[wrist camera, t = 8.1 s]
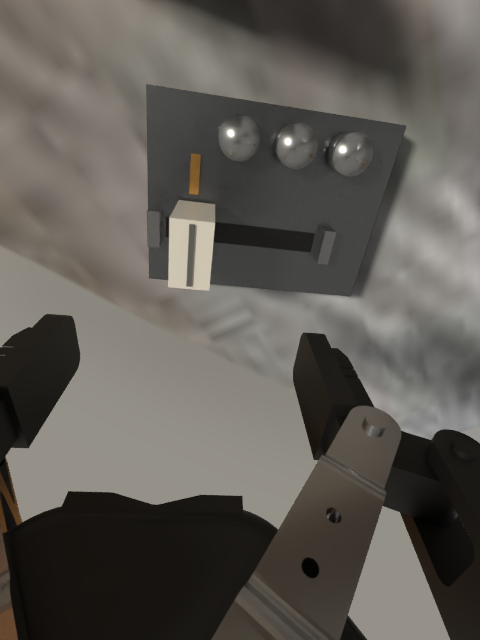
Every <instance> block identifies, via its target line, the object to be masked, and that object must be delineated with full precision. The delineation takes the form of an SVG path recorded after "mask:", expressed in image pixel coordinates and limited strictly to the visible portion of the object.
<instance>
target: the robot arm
mask: <svg viewBox="0 0 480 640" xmlns="http://www.w3.org/2000/svg"><path fill="white" fill-rule="evenodd" d="M79 362H80V350H79V345H78V340H77V334H76V328H75V323H74V319H73V318H72V316H67V315H53V314H46V315H45V316H43V317H42V318H41V319H40V320H39V321H38V322H37V323H36V324H35V325H34V327H33V328H30V327H28V328H26V329H24V330H22V331H21V332H19V333H17V334H15V335H13V336H12V337H11V338H10V339H9V340H8V341H7V342H6V343H5V344H4V345H2V348H0V640H367V639H366V638H365V636H364V635H363V634H362V632H361V631H360V630H359V629H358V627H357V626H356V625H355V624H354V622H353V621H352V620H351V619H350V617H349V616H348V613H349V609H350V606H351V603H352V600H353V597H354V594H355V591H356V588H357V584H358V581H359V578H360V575H361V572H362V569H363V565H364V562H365V559H366V556H367V553H368V550H369V547H370V544H371V540H372V537H373V534H374V531H375V528H376V525H377V522H378V518H379V515H380V512H381V509H382V506H385V507H388V508H390V509H393V510H396V511H399V512H400V513H401V516H402V518H403V521H404V523H405V526H406V529H407V531H408V533H409V536H410V539H411V541H412V544H413V546H414V549H415V551H416V554H417V556H418V559H419V561H420V564H421V567H422V569H423V572H424V574H425V576H426V579H427V582H428V584H429V587H430V589H431V592H432V594H433V597H434V599H435V602H436V604H437V607H438V609H439V612H440V615H441V617H442V619H443V622H444V625H445V627H446V630H447V632H448V635H449V637H450V640H480V444H479V443H478V442H477V441H475V440H474V439H473V438H471V437H469V436H467V435H465V434H463V433H460V432H458V431H454V430H440V431H438V432H437V433H436V434H435V435H434V437H433V438H432V440H429V439H426V438H422V437H419V436H415V435H412V434H409V433H406V432H403V431H401V429H400V427H399V425H398V424H397V422H396V421H395V420H394V419H393V418H392V417H391V416H390V415H388V414H387V413H385V412H384V411H382V410H380V409H377V408H375V407H374V406H373V404H372V402H371V400H370V398H369V396H368V394H367V392H366V391H365V389H364V387H363V385H362V383H361V381H360V379H359V378H358V375H357V374H356V372H355V370H353V366H352V364H351V362H350V360H349V359H348V357H347V356H346V355H344V354H343V353H342V352H341V351H340V350H339V349H337V348H331V346H330V344H329V342H328V340H327V338H326V336H325V335H324V334H317V333H303V334H302V335H301V338H300V343H299V347H298V351H297V355H296V359H295V364H294V369H293V382H294V386H295V390H296V394H297V398H298V401H299V405H300V409H301V412H302V416H303V420H304V424H305V428H306V432H307V435H308V439H309V443H310V446H311V450H312V454H313V458H314V460H319V461H318V462H317V464H316V466H315V468H314V469H313V471H312V473H311V474H310V476H309V478H308V480H307V481H306V483H305V485H304V486H303V488H302V490H301V492H300V493H299V495H298V497H297V498H296V500H295V502H294V504H293V505H292V507H291V509H290V511H289V512H288V514H287V516H286V517H285V519H284V521H283V523H282V524H281V526H280V528H279V529H277V528H276V527H274V526H273V525H272V524H270V523H269V522H268V521H266V520H264V519H263V518H261V517H259V516H257V515H255V514H253V513H250V512H248V511H245V510H243V504H242V503H243V502H242V496H219V495H199V496H194V497H190V498H185V499H181V500H177V501H172V502H168V503H164V504H159V505H152V504H149V503H145V502H142V501H138V500H135V499H132V498H129V497H125V496H122V495H119V494H116V493H108V492H71V491H69V492H68V494H67V496H66V498H65V501H64V503H63V505H62V507H58V508H55V509H51V510H48V511H45V512H43V513H41V514H38V515H36V516H34V517H32V518H30V519H28V520H26V521H24V522H22V519H21V516H20V513H19V509H18V504H17V500H16V496H15V492H14V488H13V483H12V479H11V475H10V471H9V467H8V463H7V460H6V457H5V456H6V454H7V453H8V451H9V450H10V448H12V447H13V448H29V446H30V445H31V443H32V442H33V440H34V438H35V437H36V435H37V434H38V432H39V430H40V428H41V427H42V426H43V424H44V422H45V421H46V419H47V417H48V416H49V414H50V412H51V411H52V409H53V408H54V406H55V405H56V403H57V401H58V399H59V398H60V397H61V395H62V393H63V392H64V390H65V388H66V387H67V385H68V384H69V382H70V381H71V379H72V377H73V376H74V374H75V372H76V371H77V369H78V366H79ZM462 523H463V524H462ZM468 534H469V535H468Z"/></svg>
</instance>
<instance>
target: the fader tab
mask: <svg viewBox="0 0 480 640" xmlns="http://www.w3.org/2000/svg"><path fill="white" fill-rule="evenodd" d="M214 230H215V204H209V203H200V202H192V201H184V200H178V202H177V204H176V206H175V208H174V210H173V212H172V214H171V216H170V217H169V268H168V287H173V288H184V289H196V290H207V291H209V287H210V276H211V264H212V253H213V241H214Z"/></svg>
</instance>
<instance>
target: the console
mask: <svg viewBox="0 0 480 640" xmlns="http://www.w3.org/2000/svg"><path fill="white" fill-rule="evenodd" d="M146 91H147V160H148V210H147V241H148V247H149V278H151V279H162V280H168V268H169V217H170V216H171V214H172V212H173V210H174V208H175V206H176V204H177V202H178V200H184V201H192V202H200V203H209V204H215V230H214V241H213V253H212V264H211V276H210V284H218V285H230V286H241V287H252V288H263V289H274V290H286V291H297V292H308V293H319V294H331V295H342V296H351V293H352V290H353V287H354V284H355V281H356V278H357V275H358V272H359V268H360V265H361V262H362V259H363V256H364V253H365V250H366V247H367V244H368V241H369V238H370V235H371V232H372V229H373V226H374V223H375V220H376V217H377V214H378V211H379V208H380V205H381V202H382V199H383V196H384V193H385V190H386V187H387V183H388V180H389V177H390V174H391V171H392V168H393V165H394V162H395V159H396V156H397V153H398V150H399V147H400V144H401V141H402V138H403V135H404V132H405V129H406V126H405V125H399V124H392V123H386V122H380V121H374V120H367V119H361V118H355V117H349V116H342V115H336V114H330V113H323V112H317V111H311V110H305V109H298V108H292V107H286V106H279V105H273V104H267V103H261V102H254V101H248V100H242V99H236V98H229V97H223V96H217V95H210V94H204V93H198V92H192V91H185V90H179V89H173V88H166V87H160V86H154V85H148V84H146Z"/></svg>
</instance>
